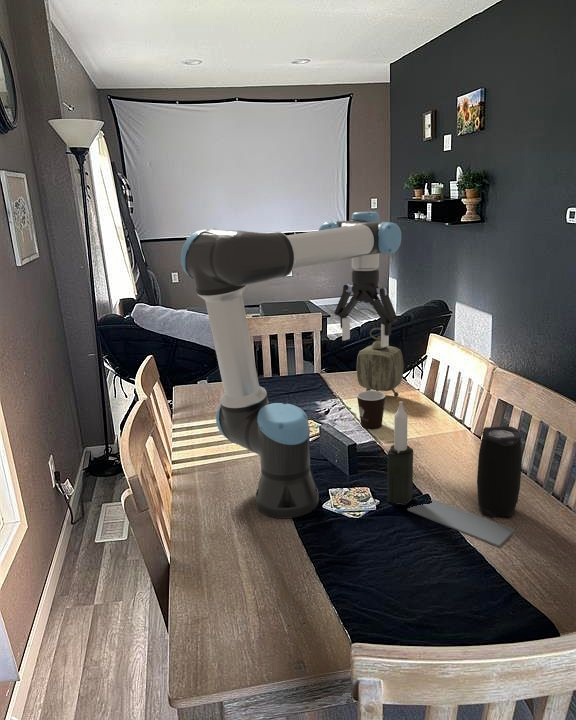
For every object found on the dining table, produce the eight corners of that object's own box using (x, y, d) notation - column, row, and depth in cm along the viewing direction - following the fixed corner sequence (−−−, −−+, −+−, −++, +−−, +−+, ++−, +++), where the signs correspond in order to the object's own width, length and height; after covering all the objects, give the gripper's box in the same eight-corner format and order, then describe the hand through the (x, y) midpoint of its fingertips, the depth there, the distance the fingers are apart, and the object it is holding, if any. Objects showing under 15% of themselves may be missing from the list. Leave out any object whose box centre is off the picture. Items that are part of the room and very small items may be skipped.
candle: (386, 502, 139) (386, 403, 132) (393, 492, 143) (393, 396, 136) (407, 507, 137) (408, 406, 130) (413, 496, 141) (415, 399, 134)
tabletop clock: (403, 396, 207) (403, 327, 200) (393, 404, 200) (393, 333, 193) (365, 390, 215) (365, 323, 207) (354, 398, 207) (353, 329, 200)
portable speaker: (468, 510, 134) (471, 431, 129) (492, 496, 139) (497, 420, 134) (501, 526, 127) (506, 443, 122) (525, 511, 133) (531, 431, 127)
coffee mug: (387, 430, 179) (387, 399, 176) (358, 431, 179) (358, 400, 177) (382, 416, 190) (382, 387, 187) (355, 417, 190) (355, 388, 188)
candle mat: (499, 547, 120) (499, 545, 120) (407, 510, 135) (407, 508, 135) (514, 531, 125) (514, 529, 125) (424, 497, 140) (424, 496, 140)
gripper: (411, 270, 158) (409, 346, 164) (338, 264, 174) (338, 334, 180) (396, 273, 153) (394, 352, 158) (322, 267, 169) (323, 339, 175)
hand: (364, 343), depth 169 cm, fingers open, 13 cm apart
